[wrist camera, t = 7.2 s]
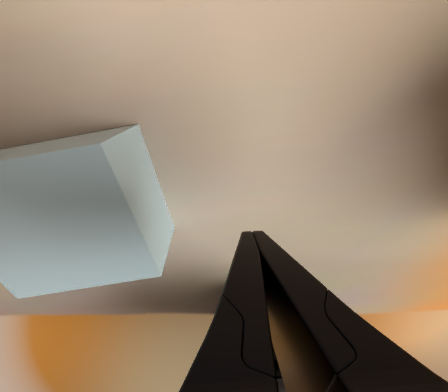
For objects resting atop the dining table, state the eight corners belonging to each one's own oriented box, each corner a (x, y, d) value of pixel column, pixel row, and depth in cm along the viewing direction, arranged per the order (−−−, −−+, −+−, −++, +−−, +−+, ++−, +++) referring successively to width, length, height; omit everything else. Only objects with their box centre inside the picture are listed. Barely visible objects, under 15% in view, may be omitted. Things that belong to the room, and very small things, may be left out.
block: (175, 225, 16) (161, 276, 12) (68, 243, 17) (17, 298, 12) (139, 123, 13) (100, 143, 8) (2, 148, 13) (-106, 180, 9)
